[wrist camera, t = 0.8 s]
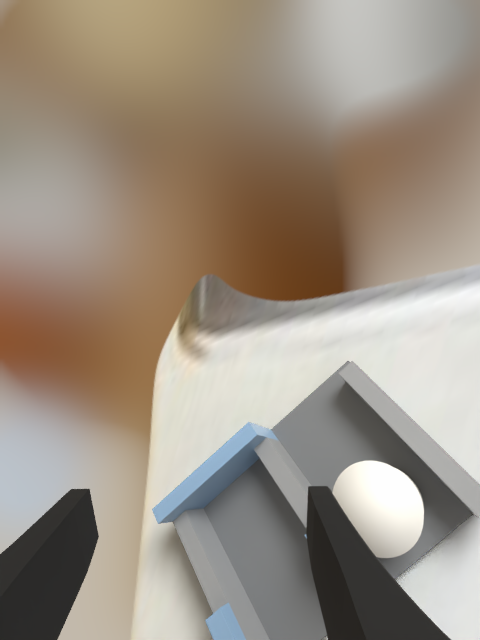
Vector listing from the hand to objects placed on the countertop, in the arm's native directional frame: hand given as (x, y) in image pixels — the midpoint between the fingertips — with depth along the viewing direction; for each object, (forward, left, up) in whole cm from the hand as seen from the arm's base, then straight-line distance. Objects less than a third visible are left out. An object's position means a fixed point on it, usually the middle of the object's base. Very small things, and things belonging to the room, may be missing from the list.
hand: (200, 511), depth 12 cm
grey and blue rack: (-1, 0, -15) cm, 15 cm away
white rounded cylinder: (-3, -4, -14) cm, 15 cm away
